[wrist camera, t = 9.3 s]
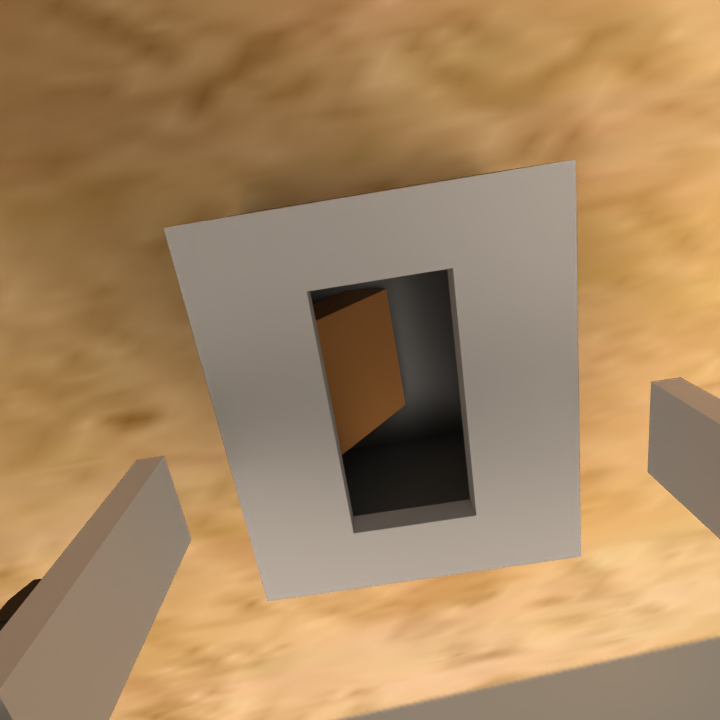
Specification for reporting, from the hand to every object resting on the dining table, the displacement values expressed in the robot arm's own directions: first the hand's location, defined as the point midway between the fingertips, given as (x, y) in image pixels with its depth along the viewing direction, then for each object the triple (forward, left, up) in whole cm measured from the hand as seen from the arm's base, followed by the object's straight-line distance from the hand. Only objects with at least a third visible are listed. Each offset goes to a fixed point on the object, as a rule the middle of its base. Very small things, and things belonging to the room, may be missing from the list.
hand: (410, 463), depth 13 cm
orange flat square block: (0, 0, -12) cm, 12 cm away
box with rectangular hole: (0, 0, -13) cm, 13 cm away
